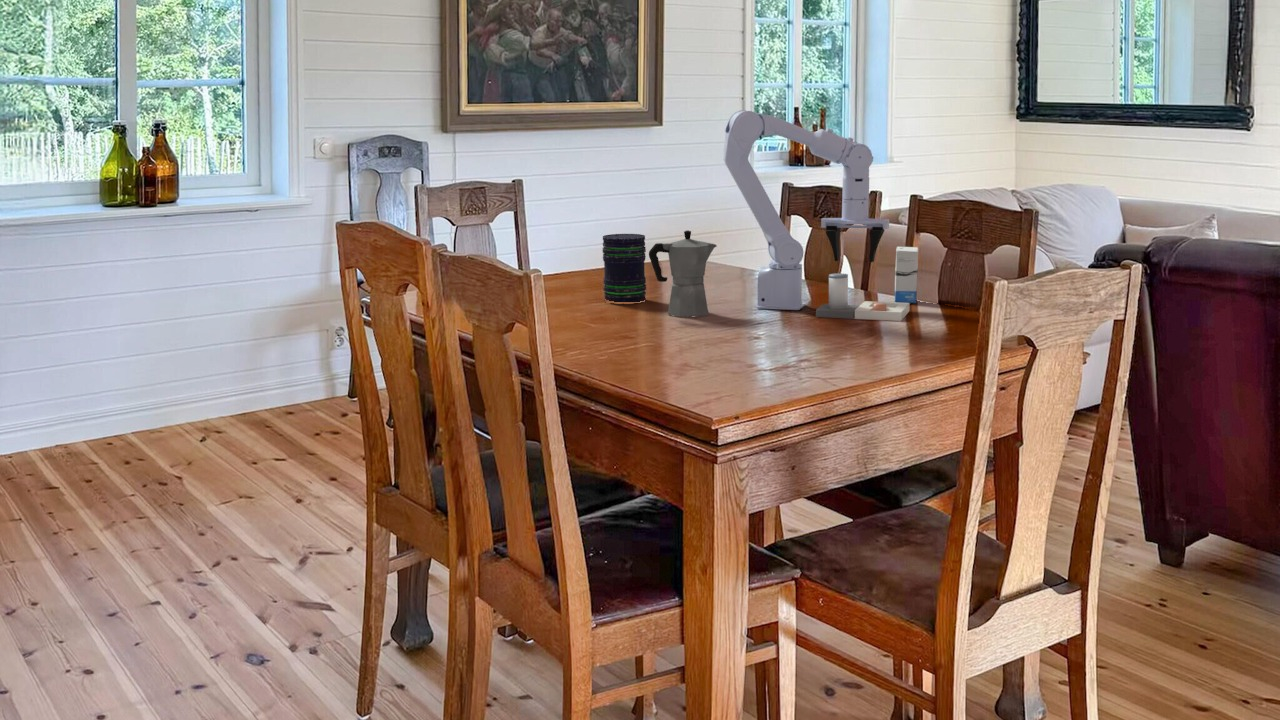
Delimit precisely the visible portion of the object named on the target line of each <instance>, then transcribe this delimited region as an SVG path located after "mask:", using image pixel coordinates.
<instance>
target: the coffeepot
mask: <svg viewBox="0 0 1280 720" xmlns="http://www.w3.org/2000/svg"><path fill="white" fill-rule="evenodd" d="M683 233H684V239H681V240H675V241H672V242H667V243H663V242H662V243H660V242H659V243H655V244H654V245H653V246H652V247H651V249H650V250H649V251H648V257H649V260H650V263H651V266H652V269H653V272H654V275H655V278H656V280H657V281H658V282H659V283H661V282H662V283H665V282H667V281H668V277H666V276H665V277H664V276H663V275H662V267H661V266H660V262H659V257H658V255H657V254H658V253H667V254H668V260H669V266H670V275H671V277H672V284H671V289H670V290H671V292H670V298H669V305H668V312H667V314H668V316H670V315H674V316H680V317H679V318H693V317H692V316H701V317H704V316H703V315H706V316H707V314H708V315H709V309H708V304H707V303H708V302H707V295H706V290H705V288H706V287H705V283H704V282H705V279H704V276H705V274H706V266H707V265H706V264H707V261H708V259H709V257H710V255H711V254H712V252H713V250H714V249H715V248H717V247H718V246H717V244H715V243H711V242H706V241H700V240H695V239H691V236H692V231H691V230H684V231H683ZM674 316H673V317H674Z"/></svg>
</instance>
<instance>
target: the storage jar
mask: <svg viewBox="0 0 1280 720" xmlns="http://www.w3.org/2000/svg"><path fill="white" fill-rule="evenodd" d="M645 240H646V235H644V234H641V233H640V234H639V233H614V234H605V235H603V236H602V241H603V242H602V261H603V263H604V264H603V266H604V271H603V272H604V277H603V280H602V281H603V286H602V288H603V296H604V298H605V299H606V300H609V301H614V302H640V301H644V300H646V301H647V298H646V294H647V292H646V290H647V284H646V283H647V282H646V280H647V277H646V276H645V273H646V272H645V261H646V257H647V256H646V251H647V248H646V242H645Z"/></svg>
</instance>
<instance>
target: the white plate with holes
mask: <svg viewBox="0 0 1280 720" xmlns="http://www.w3.org/2000/svg"><path fill="white" fill-rule="evenodd" d="M873 303H886V304H887V311H873ZM910 304H911V303H899V302H895V301H894V302H893V301H876V300H875V301H871V300H869V301H868V300H864V301H863V302H862V303H861V304H860V306H859V307H858V308H857V309H856V310H855V318H854V320H871V321H872V320H873V321H874V320H876V321H894V322H901V321H903V320H904V318H905V317H906V316H907V315H908V313H909V312H910V306H911V305H910Z"/></svg>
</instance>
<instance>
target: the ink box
mask: <svg viewBox="0 0 1280 720" xmlns="http://www.w3.org/2000/svg"><path fill="white" fill-rule="evenodd" d="M895 252H896V253H895V267H894V268H895V271H894V272H895V273H894V302H899V303H910V304H917V294H918V291H917V290H918V277H919V269H918V268H919V247H917V246H896V249H895Z"/></svg>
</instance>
